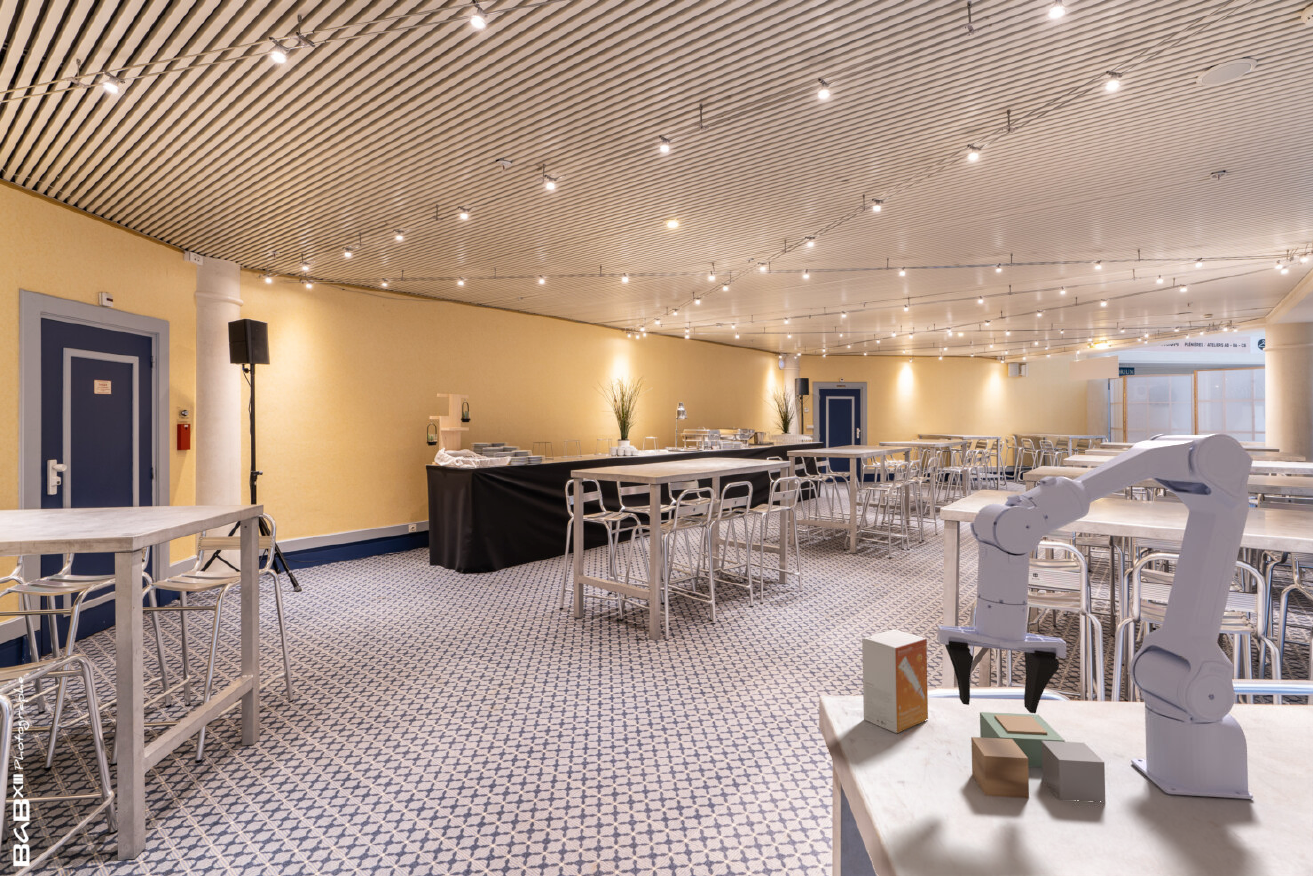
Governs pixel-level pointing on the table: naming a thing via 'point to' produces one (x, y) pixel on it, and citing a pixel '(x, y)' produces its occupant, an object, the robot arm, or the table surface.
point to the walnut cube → (1000, 767)
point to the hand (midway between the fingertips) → (996, 705)
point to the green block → (1019, 732)
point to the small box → (895, 680)
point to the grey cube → (1073, 771)
